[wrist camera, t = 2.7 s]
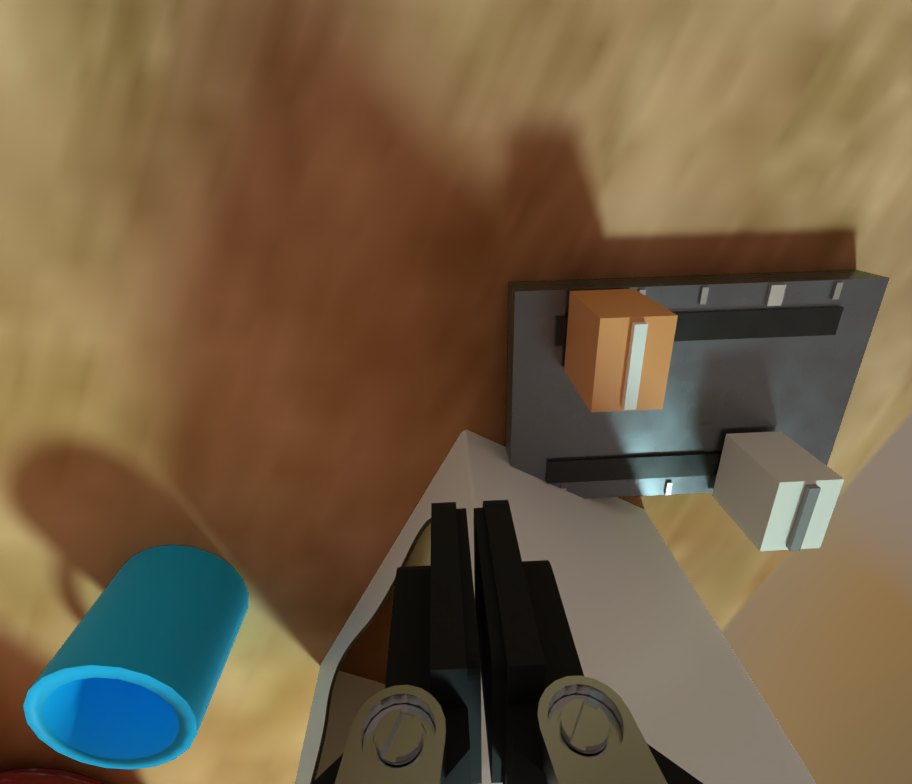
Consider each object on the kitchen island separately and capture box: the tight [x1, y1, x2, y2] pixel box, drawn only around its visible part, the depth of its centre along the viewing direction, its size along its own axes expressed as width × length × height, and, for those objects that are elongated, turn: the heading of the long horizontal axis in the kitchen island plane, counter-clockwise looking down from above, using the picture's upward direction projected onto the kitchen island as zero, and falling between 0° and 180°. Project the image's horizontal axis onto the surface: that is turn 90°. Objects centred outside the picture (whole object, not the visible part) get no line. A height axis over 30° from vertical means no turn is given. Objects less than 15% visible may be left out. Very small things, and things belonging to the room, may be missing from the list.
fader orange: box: [564, 289, 678, 412], centre depth 22 cm, size 4×3×5 cm
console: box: [505, 270, 889, 499], centre depth 27 cm, size 12×18×2 cm, turn 91°
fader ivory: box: [712, 431, 844, 551], centre depth 25 cm, size 4×3×5 cm
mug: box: [23, 545, 249, 769], centre depth 29 cm, size 12×8×8 cm
